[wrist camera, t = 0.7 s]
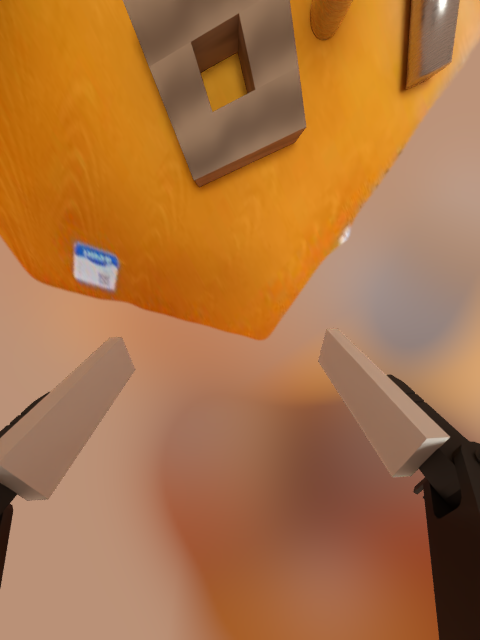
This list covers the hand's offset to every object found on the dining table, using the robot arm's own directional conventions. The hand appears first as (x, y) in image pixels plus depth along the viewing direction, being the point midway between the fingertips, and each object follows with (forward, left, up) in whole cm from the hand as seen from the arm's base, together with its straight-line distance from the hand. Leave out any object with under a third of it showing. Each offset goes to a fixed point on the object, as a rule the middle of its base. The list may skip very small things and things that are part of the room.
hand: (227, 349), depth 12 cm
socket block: (-22, +8, -26) cm, 35 cm away
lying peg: (-20, +33, -26) cm, 47 cm away
